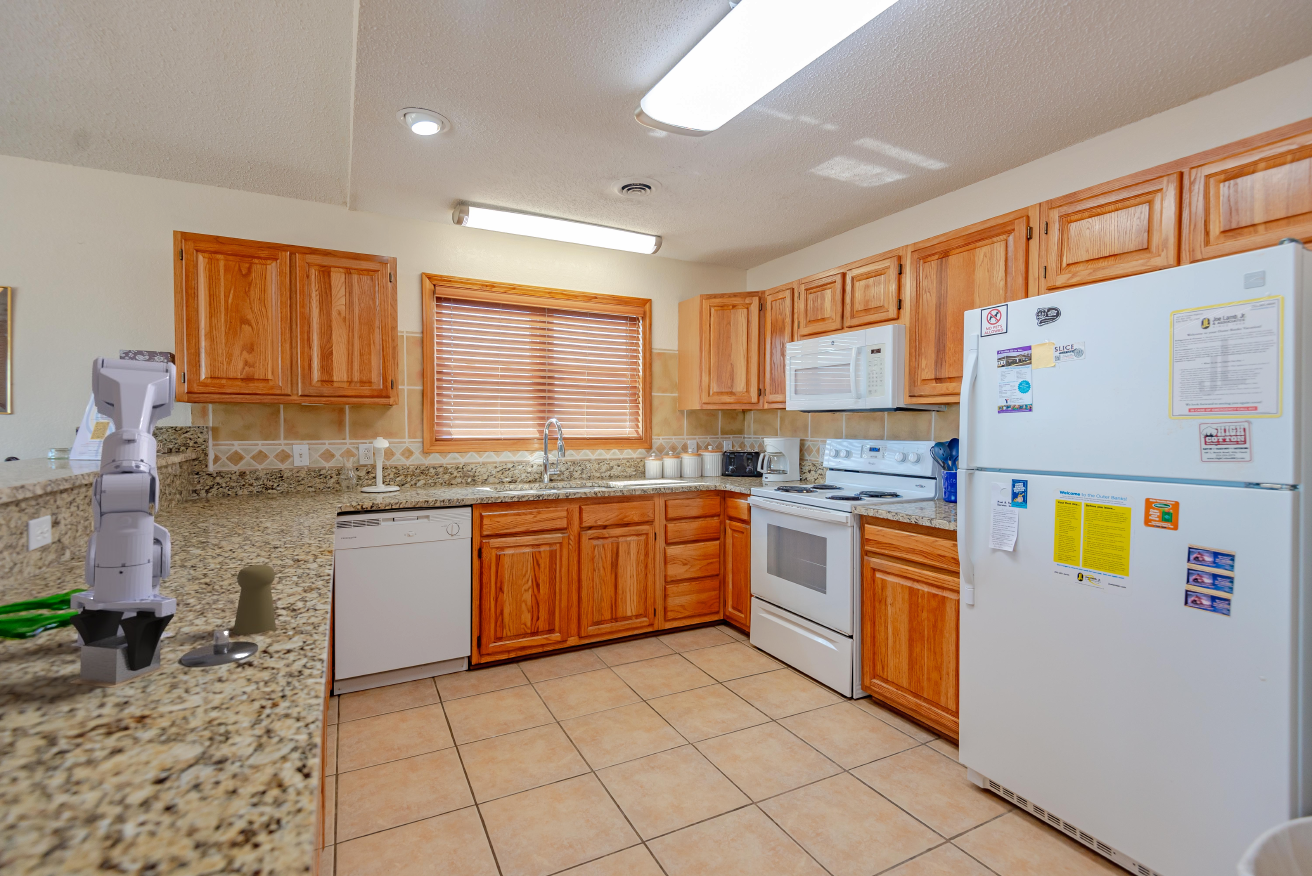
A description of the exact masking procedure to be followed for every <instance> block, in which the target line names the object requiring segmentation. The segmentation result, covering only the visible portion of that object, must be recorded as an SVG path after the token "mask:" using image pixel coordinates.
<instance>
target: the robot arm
mask: <svg viewBox="0 0 1312 876" xmlns="http://www.w3.org/2000/svg"><path fill="white" fill-rule="evenodd" d="M91 372H92V373H91V388H92V389H91V390H92V394H93V400H94V401H93V402H94V406H95V407H96V410H97V413H98V414H100V415H101V416H105V417H107V418H110V419H111V420H112V421H113V425H114V427H115V429H114V431H113V432H111V433H108V434H107V435H106V436H105V437H104V439H103V440H102V448H101V455H100V465H99V473H98V474H99V475H98V478H97V476H96V477H94V479H93V480H92V487H91V510H92V513H93V520H94V521H93V527H94V528H93V530H94V532H93V533H92V534H90V537H89V538H88V540H87V548H86V551H85V560H84V583H85V584H86V585H87V586H88V587H90V588H89V589H88V590H86V591H81V592H77V593H73V594H70V610H78V613H77V614H73V615H70V617H69V623H70V624H71V625H72V626H73V627H74V628H75V629H76V631H77V641H76V642H75V643H72V644H71V645H70V646H73V647H80V648H81V646H82V645H85V644H88V643H92V642H95V641H98V640H102V639H105V638H109V637H112V636H115V635H119V634H122V633H124V634H125V637H126V640H127V645H128V658H129V666H130V669H131V671H137V670H140V669H143V668H145V667H148V666H150V665H151V662H152V659H153V656H154V653H155V650H156V647H157V644H158V642H159V640H160V637H161V639H162V638H166V637H169V636H172V635H174V634H173V632H165V630H166V628H167V627H168V625H169V624H170V622H171V621H172V620H173V618H174V617H175V614H176V613H177V597H176V598H175V597H168V596H165V595H162V594H160V585H161V580H163V581H164V580H165V581H166V579H167V578H169V577H170V576H171V562H172V561H171V557H172V555H171V554H172V551H171V550H172V543H171V533H170V532H169V530H168V529H167V528H166V527H164V526H162V525H161V524H158V523H156V522H155V516H154V515H157V513H158V509H159V497H160V495H159V493H160V480H159V479H160V478H159V476H158V468H157V467H158V466H157V447H158V446H157V444H158V443H157V439H155V437H154V436H153V432H154V430H155V428H156V425H157V423H158V421H159V420H163V419H165V418H167V417H171V416H172V411H174V410H175V409H174V407H175V398H176V389H177V388H176V387H177V386H176V384H177V383H176V382H177V366H176V365H175V364H174V363H173V362H169V361H168V362H157V361H148V360H147V361H146V360H145V361H144V360H134V359H133V360H132V359H123V358H121V359H120V358H110V357H104V356H98V357H96V358H95V359H94V360H93V361H92V371H91ZM152 504H153V505H154V514H152V513H151V512H150V505H152Z"/></svg>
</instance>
